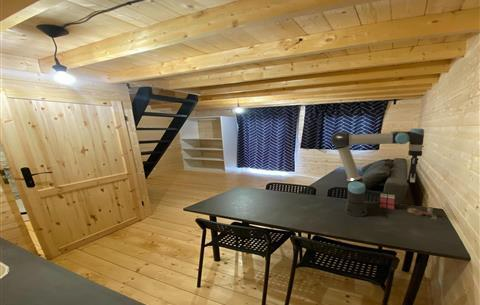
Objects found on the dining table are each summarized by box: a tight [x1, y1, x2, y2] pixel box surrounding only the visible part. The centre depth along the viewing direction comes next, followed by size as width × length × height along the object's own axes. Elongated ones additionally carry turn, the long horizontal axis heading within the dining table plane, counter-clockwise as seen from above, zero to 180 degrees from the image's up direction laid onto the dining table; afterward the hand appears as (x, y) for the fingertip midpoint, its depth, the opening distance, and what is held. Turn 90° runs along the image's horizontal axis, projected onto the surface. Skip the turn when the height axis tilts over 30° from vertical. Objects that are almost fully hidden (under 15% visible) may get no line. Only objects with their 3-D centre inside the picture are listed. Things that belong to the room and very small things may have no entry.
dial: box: [406, 206, 434, 217], centre depth 152 cm, size 14×9×6 cm, turn 50°
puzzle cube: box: [378, 192, 396, 210], centre depth 168 cm, size 10×10×10 cm
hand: (412, 181), depth 153 cm, fingers closed
